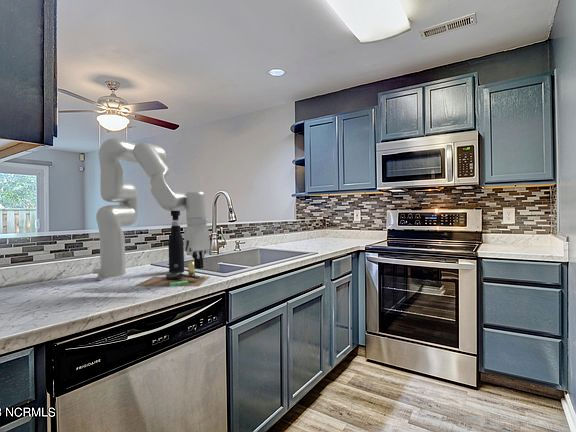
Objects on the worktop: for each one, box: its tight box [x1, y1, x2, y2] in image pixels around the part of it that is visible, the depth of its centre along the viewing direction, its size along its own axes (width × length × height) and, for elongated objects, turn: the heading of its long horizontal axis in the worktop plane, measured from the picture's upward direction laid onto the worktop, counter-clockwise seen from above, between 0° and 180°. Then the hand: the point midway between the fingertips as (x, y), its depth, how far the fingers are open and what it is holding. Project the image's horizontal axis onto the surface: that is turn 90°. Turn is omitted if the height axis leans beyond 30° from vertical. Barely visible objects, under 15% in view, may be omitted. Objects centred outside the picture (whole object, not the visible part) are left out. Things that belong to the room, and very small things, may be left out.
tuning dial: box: [165, 260, 201, 280], centre depth 127 cm, size 16×6×8 cm, turn 60°
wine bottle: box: [168, 211, 185, 274], centre depth 142 cm, size 6×6×30 cm
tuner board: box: [135, 275, 211, 287], centre depth 125 cm, size 24×16×2 cm
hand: (199, 268), depth 127 cm, fingers closed
